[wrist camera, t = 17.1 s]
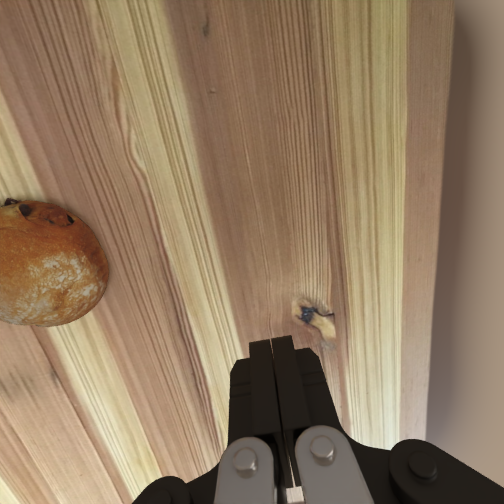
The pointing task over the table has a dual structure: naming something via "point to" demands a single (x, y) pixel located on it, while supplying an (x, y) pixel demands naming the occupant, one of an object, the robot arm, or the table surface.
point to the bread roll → (47, 265)
